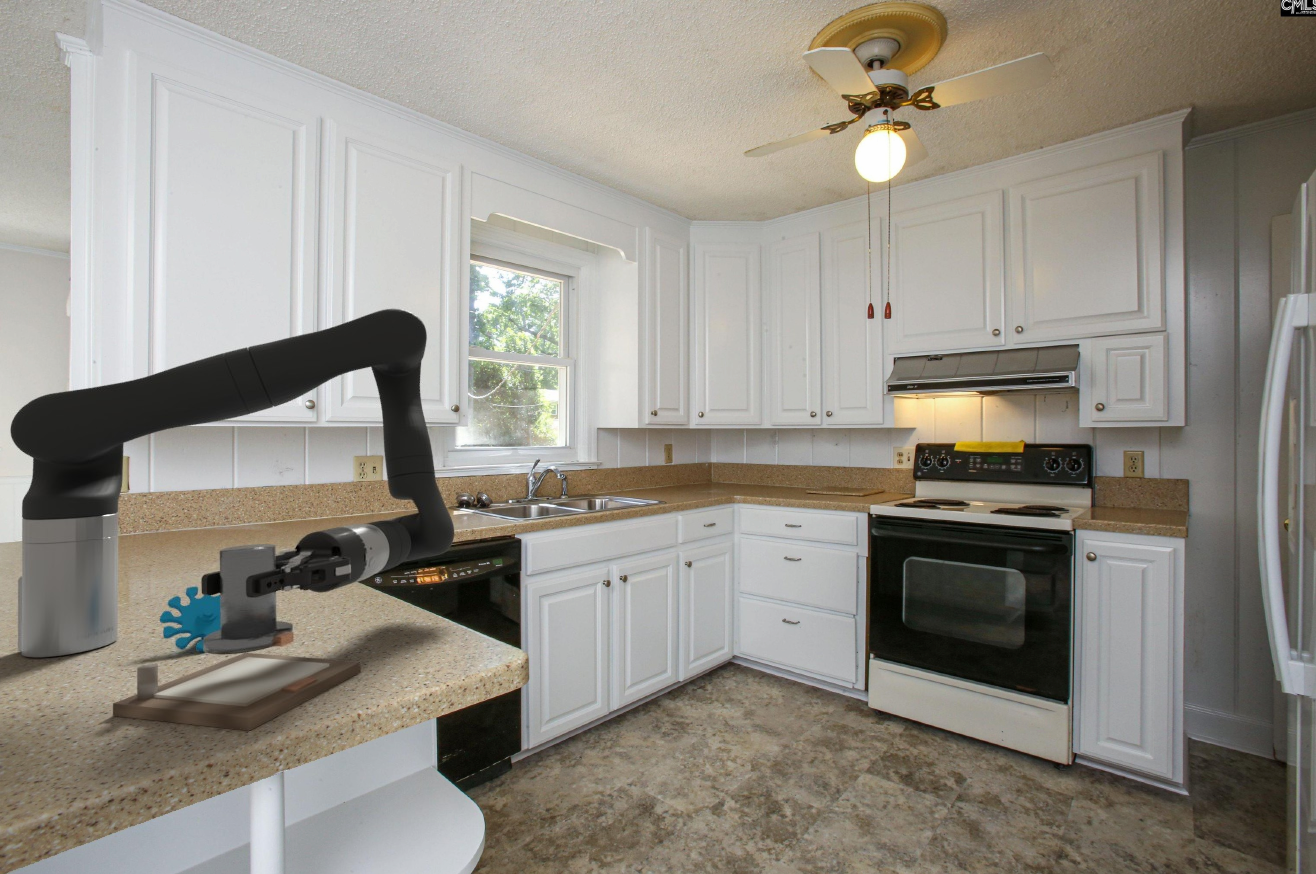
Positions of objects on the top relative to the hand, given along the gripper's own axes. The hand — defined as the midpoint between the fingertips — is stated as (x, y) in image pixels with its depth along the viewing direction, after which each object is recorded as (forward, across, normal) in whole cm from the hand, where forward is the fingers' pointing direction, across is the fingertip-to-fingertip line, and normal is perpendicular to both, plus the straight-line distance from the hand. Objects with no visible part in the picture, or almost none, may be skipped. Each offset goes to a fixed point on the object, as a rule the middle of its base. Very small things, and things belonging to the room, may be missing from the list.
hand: (227, 586), depth 64 cm
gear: (-15, -19, +12) cm, 27 cm away
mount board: (-2, 0, +12) cm, 12 cm away
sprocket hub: (-3, 0, +6) cm, 7 cm away
